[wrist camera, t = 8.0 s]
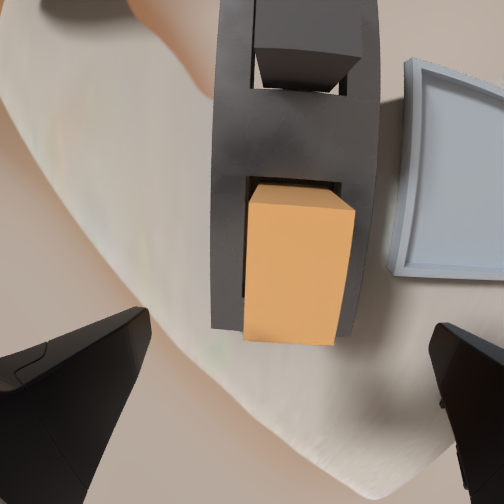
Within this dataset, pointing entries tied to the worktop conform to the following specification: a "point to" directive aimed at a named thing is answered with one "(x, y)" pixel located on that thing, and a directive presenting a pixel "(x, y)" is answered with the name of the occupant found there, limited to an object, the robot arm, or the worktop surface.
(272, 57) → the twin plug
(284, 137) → the grey slotted frame
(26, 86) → the worktop surface
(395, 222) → the tray
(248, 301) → the orange block
